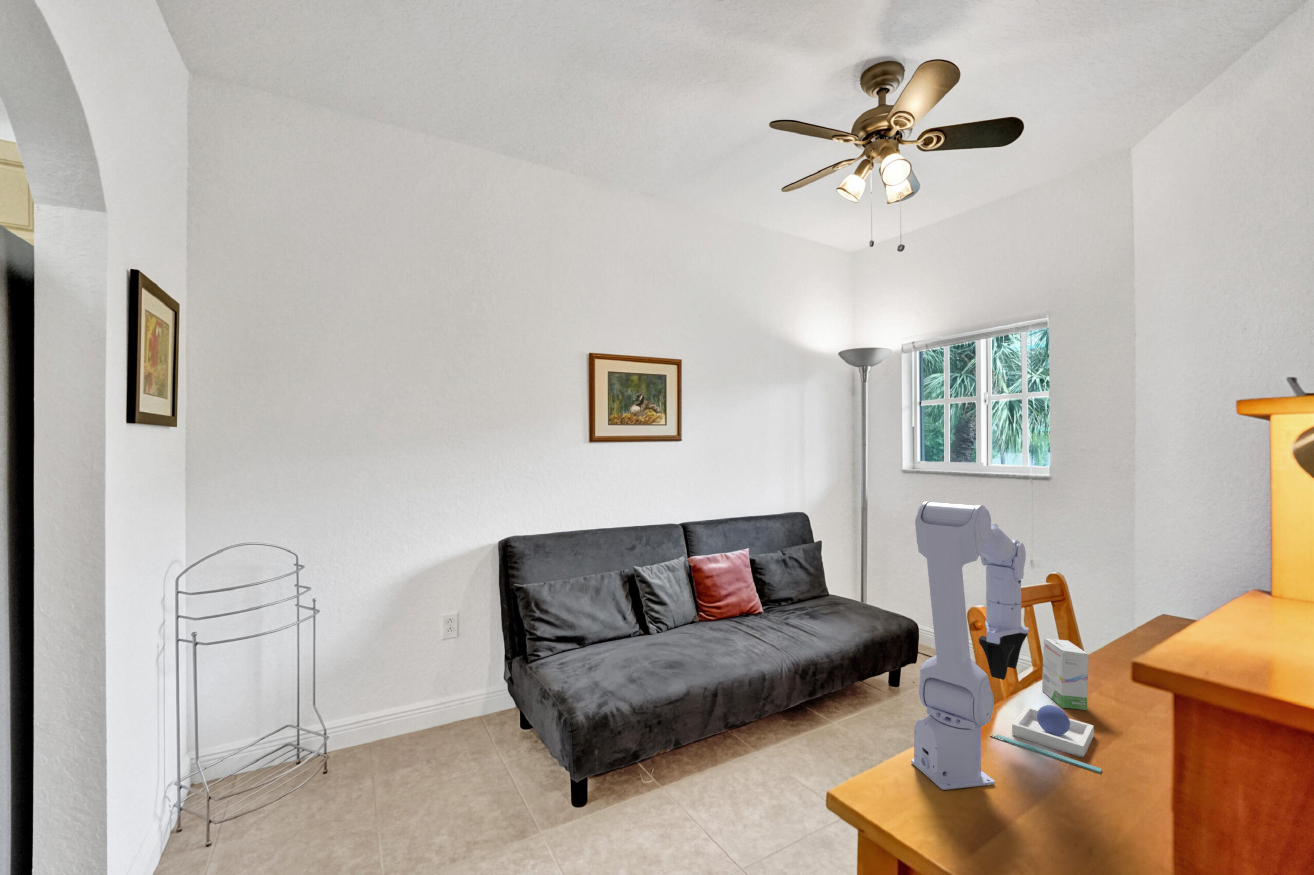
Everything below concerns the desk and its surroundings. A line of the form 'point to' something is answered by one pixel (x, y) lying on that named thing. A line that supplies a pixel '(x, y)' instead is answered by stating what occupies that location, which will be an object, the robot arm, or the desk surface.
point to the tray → (1069, 742)
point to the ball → (1053, 720)
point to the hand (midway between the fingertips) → (1003, 672)
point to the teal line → (1050, 754)
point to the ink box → (1065, 674)
